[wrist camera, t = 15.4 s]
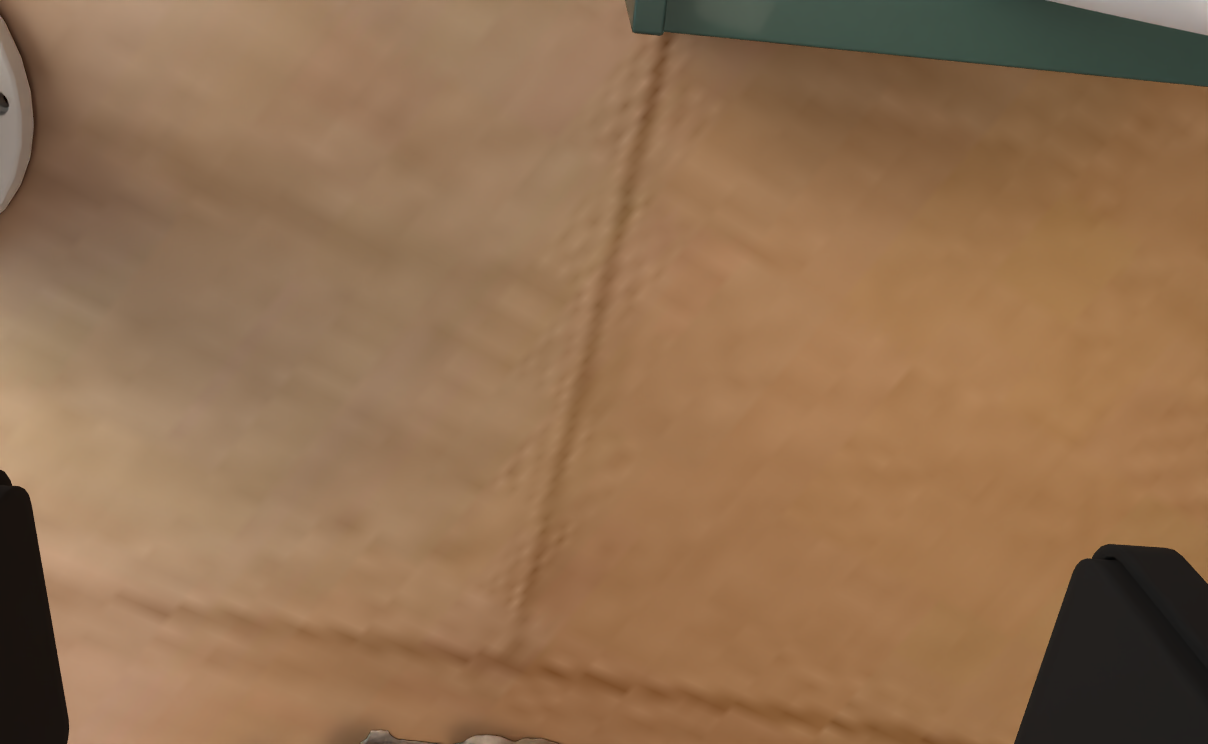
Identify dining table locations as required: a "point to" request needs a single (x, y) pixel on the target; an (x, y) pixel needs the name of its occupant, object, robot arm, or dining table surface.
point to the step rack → (948, 33)
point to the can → (1153, 11)
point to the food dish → (382, 740)
